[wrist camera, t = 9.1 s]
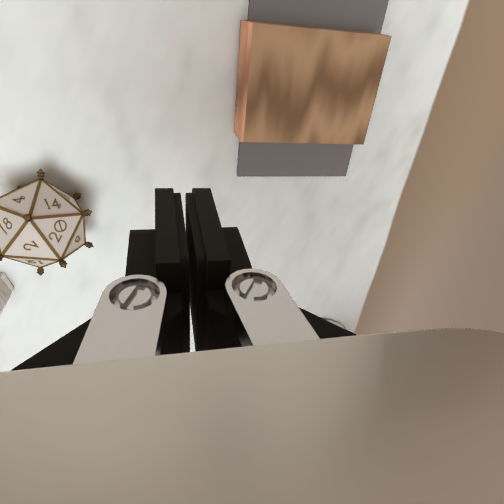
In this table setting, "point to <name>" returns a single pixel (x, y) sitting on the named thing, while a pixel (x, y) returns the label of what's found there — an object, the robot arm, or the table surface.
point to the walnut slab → (306, 83)
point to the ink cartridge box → (4, 290)
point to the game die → (41, 224)
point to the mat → (307, 154)
